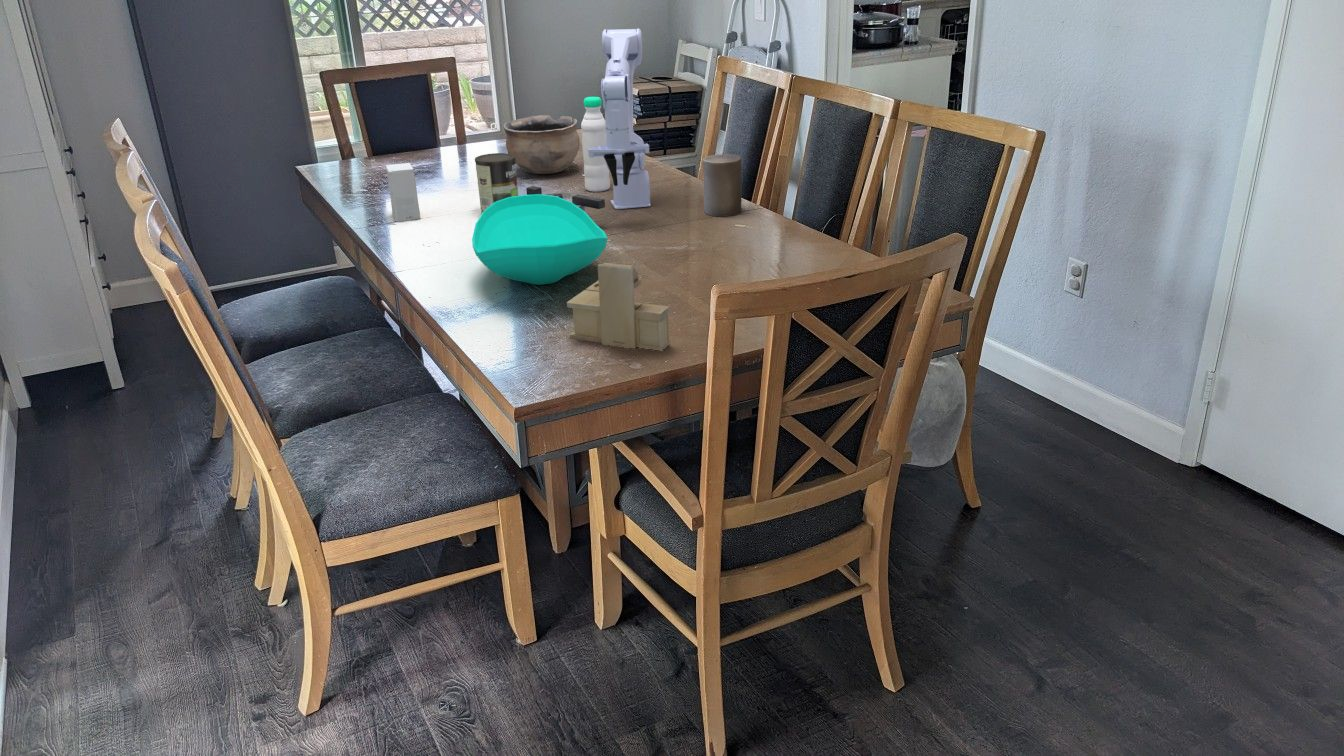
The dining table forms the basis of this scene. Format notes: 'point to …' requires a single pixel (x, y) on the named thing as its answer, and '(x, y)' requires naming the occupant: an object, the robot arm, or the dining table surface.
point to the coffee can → (496, 178)
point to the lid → (572, 198)
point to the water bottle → (591, 138)
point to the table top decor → (536, 238)
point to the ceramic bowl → (542, 143)
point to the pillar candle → (722, 185)
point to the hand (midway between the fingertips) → (620, 184)
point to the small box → (403, 192)
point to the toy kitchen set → (618, 312)
